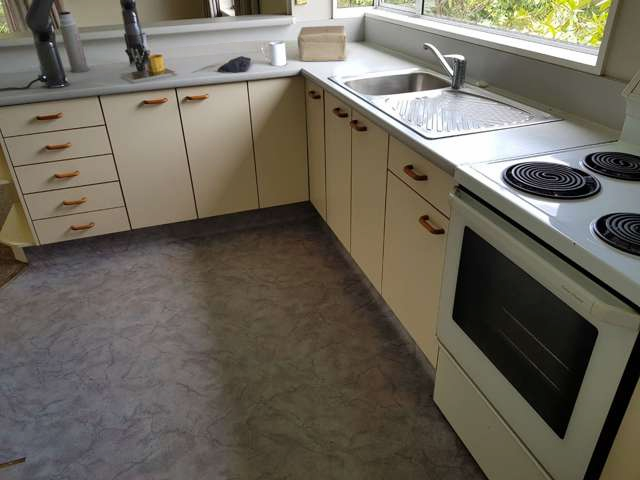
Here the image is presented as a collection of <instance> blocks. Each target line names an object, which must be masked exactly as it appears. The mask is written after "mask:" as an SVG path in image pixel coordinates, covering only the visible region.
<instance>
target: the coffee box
mask: <svg viewBox="0 0 640 480" xmlns="http://www.w3.org/2000/svg"><path fill="white" fill-rule="evenodd" d="M142 34H143V39H144V43H143V45H144V47H145V49H146V50H149V46H148V40H147V35H146V32H142ZM123 36H124V42H125V46H126V49H128V48H129V44H128V43H127V39H126V34H125V33H124V34H123ZM132 58H133V57H132ZM136 59H137V58H136ZM141 59H142V58H141ZM128 62H129V65H130V66H134V65H135V62H133V61H131V59H130V58H129V57H128Z"/></svg>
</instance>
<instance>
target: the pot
mask: <svg viewBox="0 0 640 480" xmlns="http://www.w3.org/2000/svg"><path fill="white" fill-rule="evenodd" d="M134 65H135V68H136V67H139V66H140V63H137V64H134ZM165 65H166V64H165V60H164V55H163V54H149V57H148V61H146V62H145V67H146V69H147V71H149V72H159V71H163V70H165V68H166V66H165Z"/></svg>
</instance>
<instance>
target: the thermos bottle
mask: <svg viewBox="0 0 640 480" xmlns="http://www.w3.org/2000/svg"><path fill="white" fill-rule="evenodd" d="M59 16H60V19H59V25H58V26H59V29H60V33H61V37H62V40H63V45H64V47H65V51H66V54H67V58H68V63H69V67H70V70H71V72H72V73H83V72H87V71H89V66H88V63H87V59H86V56H85V55H86V54H85V51H84V47H83V43H82V39H81V36H80V31H79V28H78V24H77V23H76V22H75V19H74V18H72V15H71V12H70V11H61V12H59Z"/></svg>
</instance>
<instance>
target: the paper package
mask: <svg viewBox="0 0 640 480" xmlns="http://www.w3.org/2000/svg"><path fill="white" fill-rule="evenodd" d="M297 49H298V53H299V54H298V55H299V59H300V61H301V62H324V61H325V62H327V61H328V62H329V61H330V62H331V61H345V60H346V59H347V32H346V27H345V25H322V26H321V25H320V26H319V25H318V26H302V27H301V28H300V31H299V33H298V35H297Z"/></svg>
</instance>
